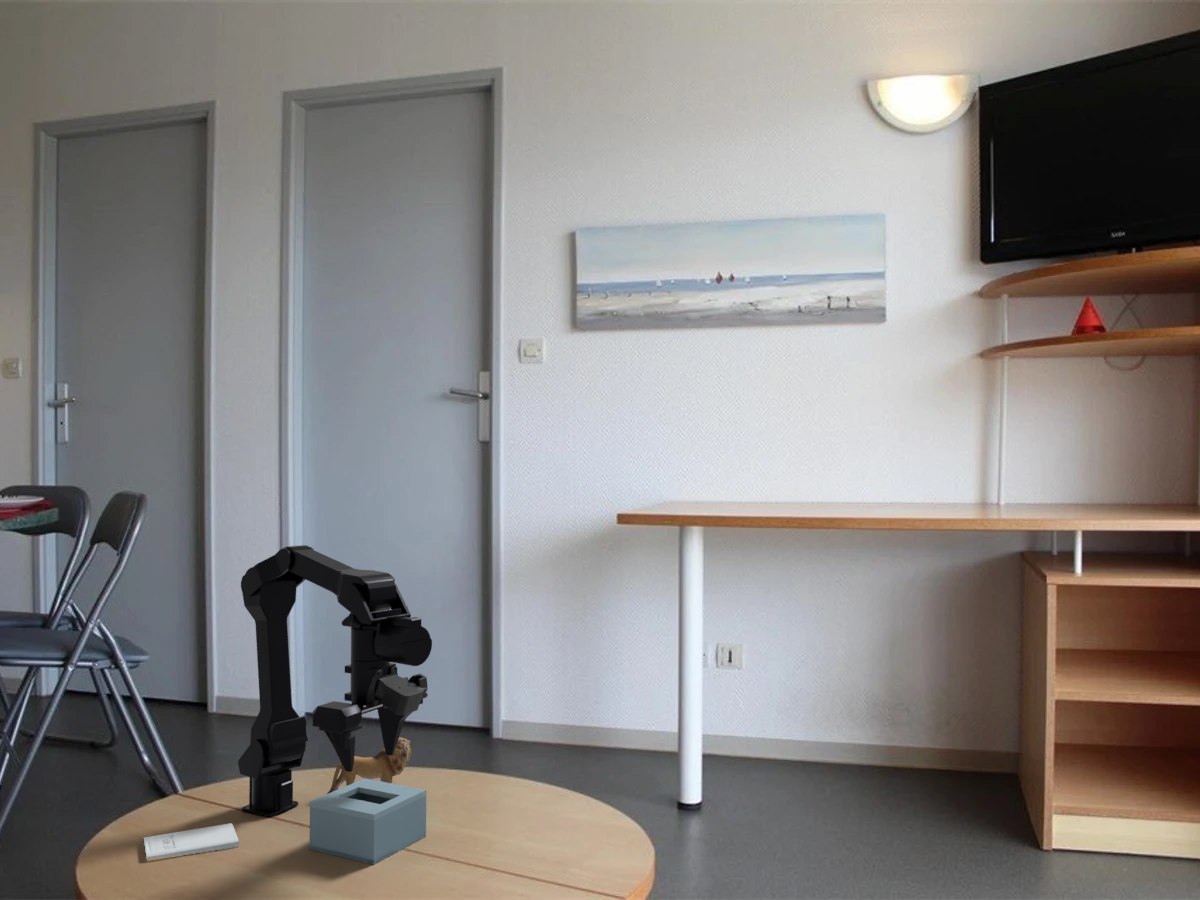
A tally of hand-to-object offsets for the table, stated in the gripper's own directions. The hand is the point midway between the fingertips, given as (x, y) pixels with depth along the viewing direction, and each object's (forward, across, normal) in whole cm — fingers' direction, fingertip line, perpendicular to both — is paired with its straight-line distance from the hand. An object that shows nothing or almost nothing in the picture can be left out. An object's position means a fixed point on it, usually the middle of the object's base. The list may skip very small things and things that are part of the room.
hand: (369, 763), depth 147 cm
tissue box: (+12, 0, 0) cm, 12 cm away
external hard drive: (+13, -13, +23) cm, 29 cm away
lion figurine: (+12, +18, +15) cm, 26 cm away
